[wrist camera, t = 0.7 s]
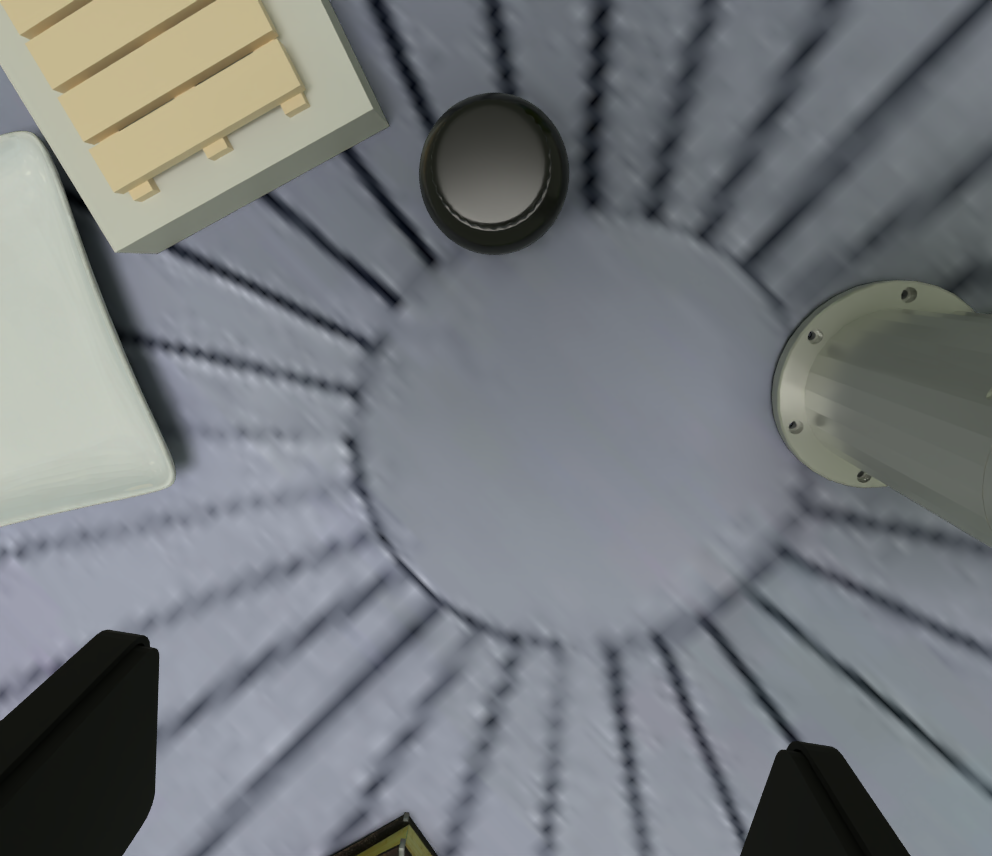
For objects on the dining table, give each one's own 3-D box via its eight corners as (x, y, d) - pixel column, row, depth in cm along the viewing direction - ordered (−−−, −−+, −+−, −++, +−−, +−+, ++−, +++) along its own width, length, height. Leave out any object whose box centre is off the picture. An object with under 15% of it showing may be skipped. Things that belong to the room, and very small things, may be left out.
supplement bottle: (416, 176, 35) (367, 133, 24) (516, 104, 34) (516, 22, 22) (482, 279, 37) (466, 286, 25) (580, 212, 35) (611, 188, 24)
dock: (260, -141, 31) (209, -223, 26) (389, 126, 34) (366, 101, 29) (16, 16, 34) (-78, -30, 28) (157, 253, 37) (96, 252, 31)
